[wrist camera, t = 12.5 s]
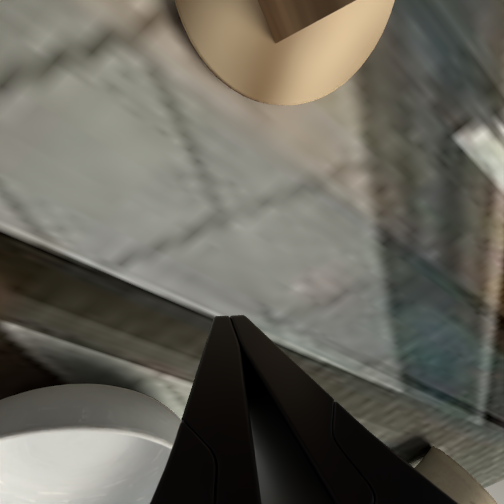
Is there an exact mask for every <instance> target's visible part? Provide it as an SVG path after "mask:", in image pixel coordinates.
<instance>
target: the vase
mask: <svg viewBox="0 0 504 504" xmlns="http://www.w3.org/2000/svg"><path fill="white" fill-rule="evenodd" d="M415 469H416V470H417V471H418V472H420V473H421V474H422V475H423V476H425V477H426V478H427V479H428V480H430V481H431V482H432V483H433V484H435V485H436V486H437V487H438V488H440V489H441V490H442V491H443V492H445V493H446V494H447V495H448V496H450V497H451V498H452V499H453V500H455V501H456V502H457V503H458V504H497V503H496V501H495V500H494V499H493V498H492V496H491V495H490V494H489V493H488V492H487V491H486V490H485V489H484V488H483V487H482V486H481V485H480V484H479V483H478V482H477V481H476V480H475V479H474V478H473V477H472V476H471V475H470V474H469V473H468V472H467V471H466V470H465V469H464V468H462V467H461V466H460V465H459V464H458V463H457V462H455V461H454V460H453V459H452V458H451V457H449V456H448V455H446V454H445V453H444V452H443V451H441V450H440V449H437V448H435V447H434V446H432V447H431V449H430V450H429V451H428V453H427V454H426V455H425V456H424V458H423V459H422V460H421V461H420V463H419V464H418V465H417V466H416V467H415Z"/></svg>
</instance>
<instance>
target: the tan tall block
mask: <svg viewBox="0 0 504 504" xmlns="http://www.w3.org/2000/svg"><path fill="white" fill-rule="evenodd" d="M354 1H356V0H258V3H259V5H260V7H261V10H262V12H263V14H264V17H265V19H266V22H267V24H268V26H269V29H270V31H271V34H272V36H273V38H274V41H275V43H278V42H280V41H282V40H283V39H285V38H287V37H289V36H291V35H293V34H295V33H296V32H298V31H300V30H302V29H304V28H306V27H308V26H309V25H311V24H313V23H315V22H317V21H319V20H320V19H322V18H324V17H326V16H328V15H330V14H332V13H333V12H335V11H337V10H339V9H341V8H343V7H345V6H346V5H348V4H350V3H352V2H354Z"/></svg>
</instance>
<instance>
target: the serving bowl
mask: <svg viewBox="0 0 504 504" xmlns="http://www.w3.org/2000/svg"><path fill="white" fill-rule="evenodd" d="M180 423H181V420H180V418H179V417H178V416H177V415H176V414H175V413H174V412H172V411H171V410H170V409H169V408H168V407H166V406H165V405H163V404H162V403H160V402H159V401H157V400H155V399H153V398H151V397H149V396H147V395H145V394H142V393H140V392H137V391H134V390H130V389H126V388H121V387H116V386H110V385H101V384H66V385H57V386H50V387H44V388H39V389H34V390H30V391H27V392H23V393H20V394H16V395H13V396H10V397H7V398H4V399H2V400H0V504H150V502H151V500H152V497H153V495H154V493H155V490H156V488H157V485H158V483H159V481H160V478H161V476H162V474H163V471H164V469H165V466H166V464H167V461H168V458H169V455H170V452H171V450H172V447H173V444H174V441H175V438H176V435H177V432H178V429H179V426H180Z"/></svg>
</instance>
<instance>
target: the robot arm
mask: <svg viewBox="0 0 504 504" xmlns="http://www.w3.org/2000/svg"><path fill="white" fill-rule="evenodd" d="M150 504H458V503H457V502H456V501H455V500H453V499H452V498H451V497H450V496H448V495H447V494H446V493H445V492H443V491H442V490H441V489H440V488H438V487H437V486H436V485H435V484H433V483H432V482H431V481H430V480H428V479H427V478H426V477H425V476H423V475H422V474H421V473H420V472H418V471H417V470H416V469H415V468H413V467H412V466H411V465H410V464H408V463H407V462H406V461H405V460H403V459H402V458H401V457H400V456H398V455H397V454H396V453H395V452H393V451H392V450H391V449H390V448H388V447H387V446H386V445H385V444H384V443H382V442H381V441H380V440H379V439H378V438H376V437H375V436H374V435H373V434H372V433H370V432H369V431H368V430H367V429H366V428H365V427H364V426H363V425H361V424H360V423H359V422H358V421H357V420H356V419H355V418H354V417H353V416H351V415H350V414H349V413H348V412H347V411H346V410H345V409H344V408H343V407H342V406H341V405H340V404H339V403H337V402H334V399H333V398H332V397H331V396H330V395H329V394H328V393H327V392H326V391H325V390H323V389H322V388H321V387H320V386H319V385H318V384H317V383H316V382H315V381H314V380H313V379H312V378H311V377H310V376H309V375H308V374H306V373H305V372H304V371H303V370H302V369H301V368H300V367H299V366H298V365H297V364H296V363H295V362H294V361H293V360H292V359H291V358H289V357H288V356H287V355H286V354H285V353H284V352H283V351H282V350H281V349H280V348H279V347H278V346H277V345H276V344H275V343H273V342H272V341H271V340H270V339H269V338H268V337H267V336H266V335H265V334H264V333H263V332H262V331H261V330H260V329H259V328H258V327H256V326H255V325H254V324H253V323H252V322H251V321H250V320H249V319H248V318H247V317H246V316H244V315H235V316H231V317H229V316H216V317H215V318H214V320H213V323H212V326H211V329H210V332H209V336H208V339H207V342H206V345H205V348H204V351H203V354H202V357H201V361H200V364H199V367H198V370H197V373H196V376H195V379H194V382H193V386H192V389H191V392H190V395H189V398H188V401H187V404H186V408H185V411H184V414H183V417H182V420H181V423H180V426H179V429H178V432H177V435H176V438H175V441H174V444H173V447H172V450H171V452H170V455H169V458H168V461H167V464H166V466H165V469H164V471H163V474H162V476H161V478H160V481H159V483H158V485H157V488H156V490H155V493H154V495H153V497H152V500H151V502H150Z"/></svg>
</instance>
